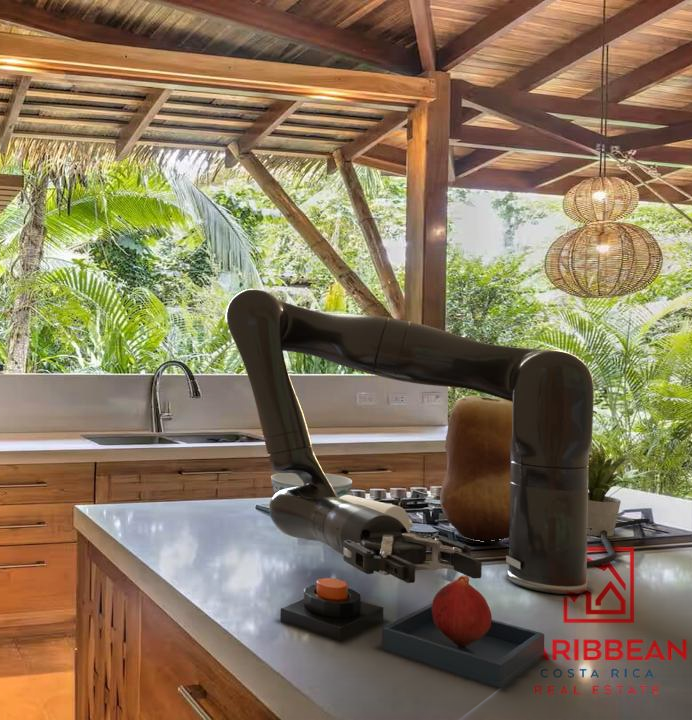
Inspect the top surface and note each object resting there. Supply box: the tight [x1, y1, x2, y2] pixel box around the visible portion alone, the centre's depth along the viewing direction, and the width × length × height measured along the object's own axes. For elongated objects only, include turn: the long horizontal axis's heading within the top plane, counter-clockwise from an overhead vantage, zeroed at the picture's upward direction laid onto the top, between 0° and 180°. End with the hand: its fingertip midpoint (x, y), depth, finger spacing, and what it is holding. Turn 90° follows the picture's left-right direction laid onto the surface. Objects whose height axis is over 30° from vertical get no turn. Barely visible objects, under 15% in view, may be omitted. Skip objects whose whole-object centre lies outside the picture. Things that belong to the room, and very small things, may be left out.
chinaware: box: [270, 472, 353, 498], centre depth 143 cm, size 15×15×8 cm
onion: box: [431, 574, 493, 647], centre depth 81 cm, size 6×6×8 cm
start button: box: [316, 577, 349, 600], centre depth 90 cm, size 4×4×2 cm
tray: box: [381, 602, 545, 689], centre depth 81 cm, size 12×12×2 cm
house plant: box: [587, 443, 648, 537], centre depth 130 cm, size 14×14×16 cm
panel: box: [280, 584, 384, 643], centre depth 90 cm, size 10×8×4 cm
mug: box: [340, 494, 413, 534], centre depth 123 cm, size 12×10×8 cm
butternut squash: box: [439, 395, 513, 544], centre depth 126 cm, size 14×13×25 cm
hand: (446, 572), depth 84 cm, fingers open, 8 cm apart
